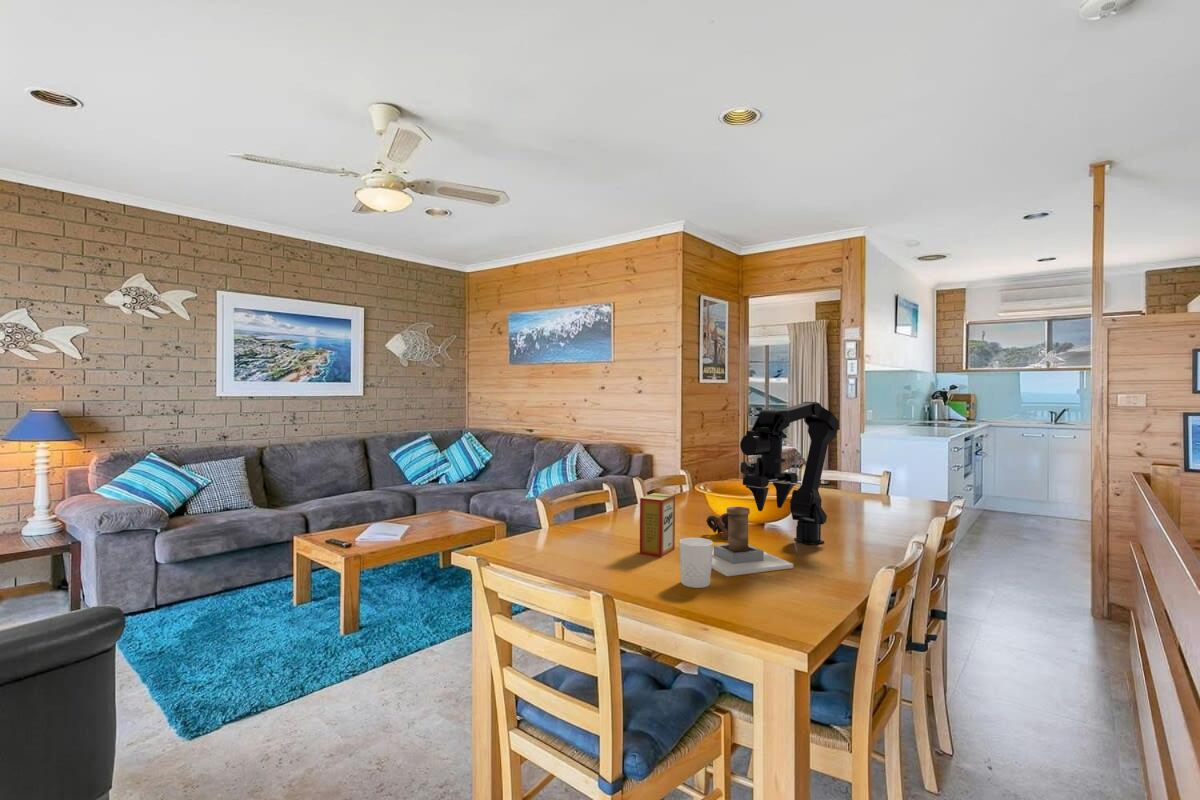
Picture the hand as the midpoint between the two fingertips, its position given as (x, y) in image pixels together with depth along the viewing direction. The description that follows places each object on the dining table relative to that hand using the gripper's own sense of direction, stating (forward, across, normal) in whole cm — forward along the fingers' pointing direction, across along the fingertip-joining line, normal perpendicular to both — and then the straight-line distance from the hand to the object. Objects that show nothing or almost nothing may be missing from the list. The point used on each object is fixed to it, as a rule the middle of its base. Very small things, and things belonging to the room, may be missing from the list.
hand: (769, 509), depth 170 cm
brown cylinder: (+11, +14, 0) cm, 18 cm away
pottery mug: (+12, -5, -19) cm, 23 cm away
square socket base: (+12, +14, 0) cm, 19 cm away
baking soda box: (+13, +24, -20) cm, 34 cm away
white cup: (+13, +37, +5) cm, 40 cm away
